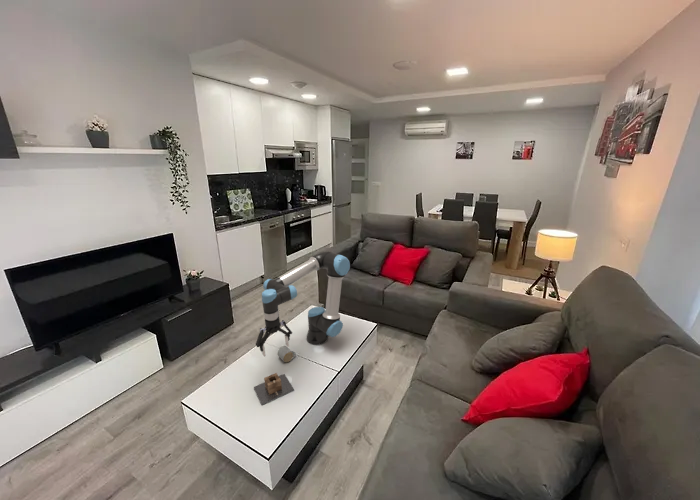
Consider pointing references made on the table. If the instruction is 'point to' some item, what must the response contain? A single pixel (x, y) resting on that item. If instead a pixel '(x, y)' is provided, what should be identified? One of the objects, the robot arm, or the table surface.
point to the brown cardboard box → (273, 383)
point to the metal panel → (267, 398)
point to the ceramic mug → (285, 354)
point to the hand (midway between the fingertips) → (276, 350)
